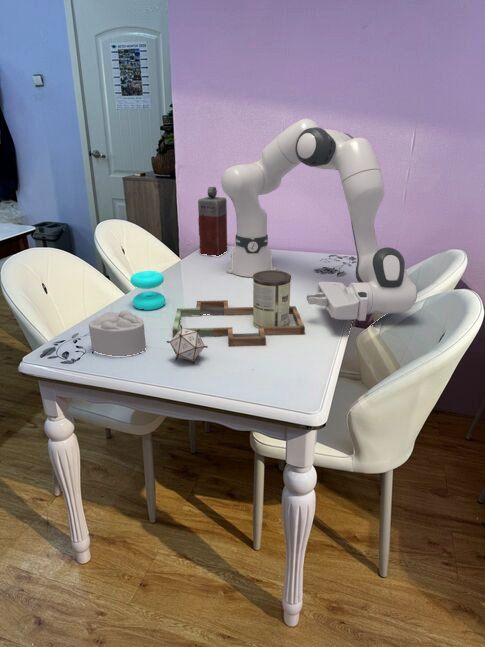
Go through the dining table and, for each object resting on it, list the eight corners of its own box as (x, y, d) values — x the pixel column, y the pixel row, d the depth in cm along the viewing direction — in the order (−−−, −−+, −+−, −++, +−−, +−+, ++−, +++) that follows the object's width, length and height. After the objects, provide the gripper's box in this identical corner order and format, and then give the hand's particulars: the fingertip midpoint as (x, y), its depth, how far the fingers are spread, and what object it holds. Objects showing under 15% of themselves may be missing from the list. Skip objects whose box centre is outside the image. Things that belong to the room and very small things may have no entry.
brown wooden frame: (179, 307, 138) (178, 301, 138) (292, 305, 140) (292, 299, 139) (170, 347, 113) (170, 340, 113) (308, 344, 115) (309, 337, 114)
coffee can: (258, 314, 133) (259, 268, 128) (292, 319, 130) (295, 272, 124) (247, 328, 124) (247, 279, 119) (284, 333, 121) (285, 283, 116)
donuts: (153, 281, 130) (123, 277, 133) (155, 313, 134) (126, 309, 137) (169, 271, 139) (141, 268, 142) (171, 301, 143) (143, 298, 146)
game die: (182, 370, 110) (169, 332, 112) (214, 358, 110) (200, 320, 111) (172, 370, 101) (158, 329, 103) (207, 357, 101) (192, 315, 102)
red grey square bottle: (205, 249, 203) (202, 184, 191) (227, 252, 198) (226, 186, 187) (195, 254, 195) (192, 187, 184) (218, 257, 191) (216, 188, 180)
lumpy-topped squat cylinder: (111, 335, 120) (107, 305, 117) (154, 343, 116) (152, 311, 113) (86, 353, 111) (81, 320, 108) (132, 361, 107) (129, 328, 104)
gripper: (347, 276, 134) (301, 276, 133) (369, 300, 115) (315, 301, 114) (346, 296, 136) (300, 296, 136) (366, 323, 118) (313, 324, 117)
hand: (307, 299), depth 125 cm, fingers closed
